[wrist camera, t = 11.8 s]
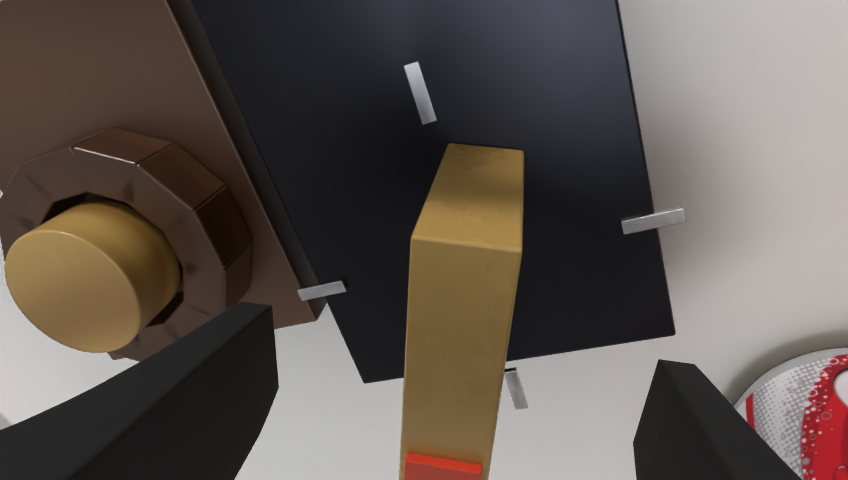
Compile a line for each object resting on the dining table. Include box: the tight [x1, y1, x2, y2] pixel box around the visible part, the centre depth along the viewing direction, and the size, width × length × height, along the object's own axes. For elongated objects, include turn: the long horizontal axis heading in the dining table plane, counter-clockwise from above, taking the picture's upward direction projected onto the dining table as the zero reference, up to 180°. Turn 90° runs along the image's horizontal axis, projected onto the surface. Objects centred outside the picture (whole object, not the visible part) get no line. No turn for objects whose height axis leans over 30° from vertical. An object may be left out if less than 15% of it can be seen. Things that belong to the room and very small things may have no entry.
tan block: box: [399, 143, 524, 480], centre depth 13 cm, size 6×2×5 cm, turn 177°
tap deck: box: [191, 0, 685, 410], centre depth 15 cm, size 18×10×3 cm, turn 18°
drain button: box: [5, 200, 180, 353], centre depth 15 cm, size 4×4×2 cm
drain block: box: [0, 0, 327, 362], centre depth 17 cm, size 11×8×4 cm
